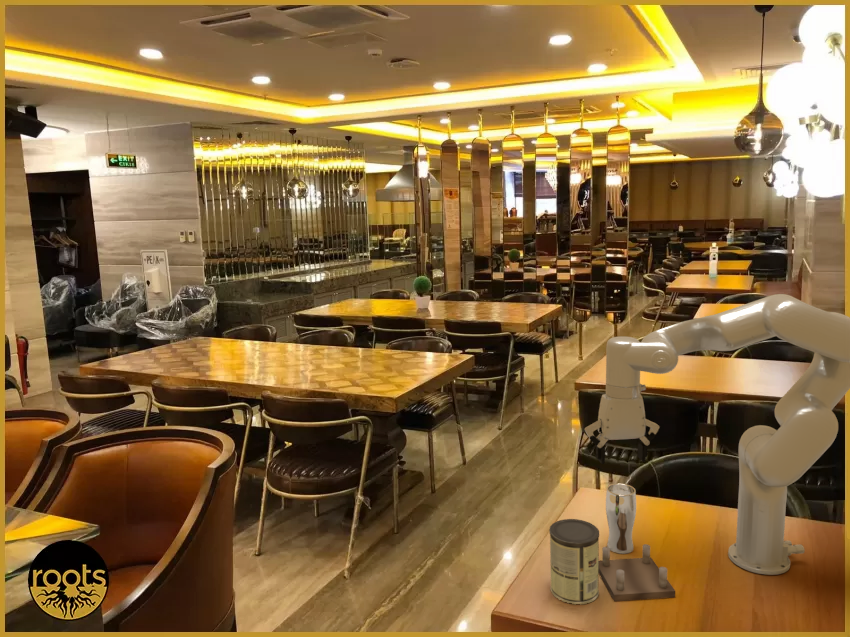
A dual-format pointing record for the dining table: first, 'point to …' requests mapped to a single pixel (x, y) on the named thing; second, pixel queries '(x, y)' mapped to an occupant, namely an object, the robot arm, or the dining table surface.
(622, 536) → the beer glass
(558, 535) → the coffee can
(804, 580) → the dining table surface
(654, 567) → the peg stand
